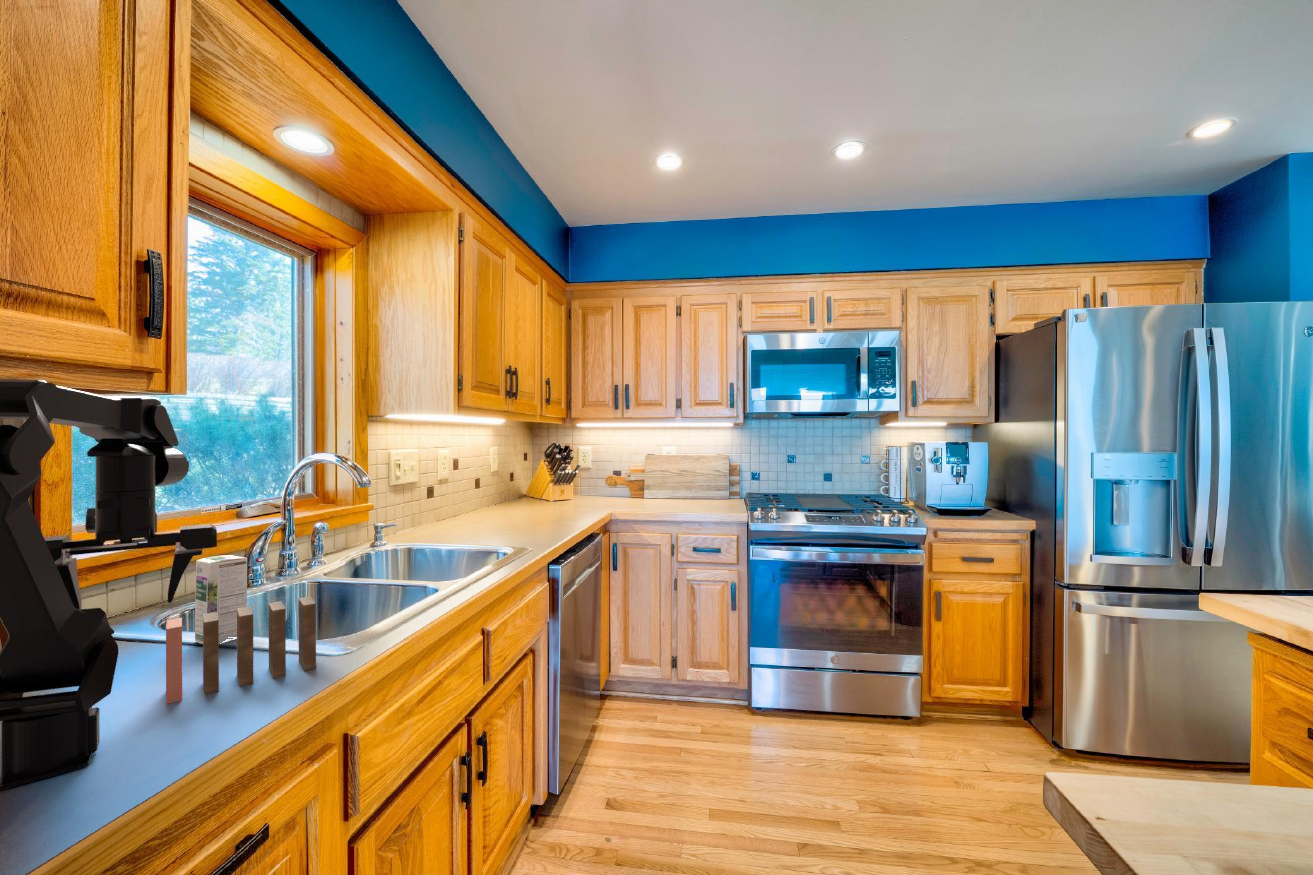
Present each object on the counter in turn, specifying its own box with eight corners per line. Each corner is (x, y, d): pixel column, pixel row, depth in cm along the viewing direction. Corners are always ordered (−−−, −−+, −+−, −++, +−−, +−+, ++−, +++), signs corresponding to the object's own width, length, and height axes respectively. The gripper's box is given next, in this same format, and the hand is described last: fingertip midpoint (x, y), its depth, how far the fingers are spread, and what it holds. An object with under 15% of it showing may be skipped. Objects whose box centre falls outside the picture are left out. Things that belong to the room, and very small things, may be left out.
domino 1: (166, 704, 73) (165, 629, 73) (167, 691, 77) (166, 619, 77) (181, 700, 74) (181, 626, 74) (182, 687, 78) (181, 617, 78)
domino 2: (204, 695, 75) (203, 622, 76) (203, 683, 79) (202, 614, 79) (218, 691, 77) (218, 620, 77) (217, 679, 80) (217, 611, 80)
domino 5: (303, 671, 83) (303, 605, 83) (298, 661, 87) (298, 598, 87) (316, 668, 84) (315, 603, 84) (310, 658, 88) (310, 596, 88)
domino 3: (239, 686, 78) (239, 616, 78) (236, 675, 82) (236, 608, 82) (253, 683, 79) (253, 614, 79) (250, 672, 83) (250, 606, 83)
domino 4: (272, 678, 81) (272, 610, 81) (268, 668, 84) (268, 603, 84) (285, 675, 82) (285, 608, 82) (281, 665, 85) (281, 601, 85)
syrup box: (193, 642, 95) (193, 559, 95) (232, 632, 101) (232, 553, 101) (209, 648, 93) (209, 562, 93) (248, 637, 98) (248, 556, 98)
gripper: (215, 483, 85) (215, 584, 85) (34, 491, 73) (34, 609, 73) (216, 487, 76) (216, 600, 76) (13, 497, 64) (12, 630, 64)
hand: (125, 608), depth 72 cm, fingers open, 8 cm apart
